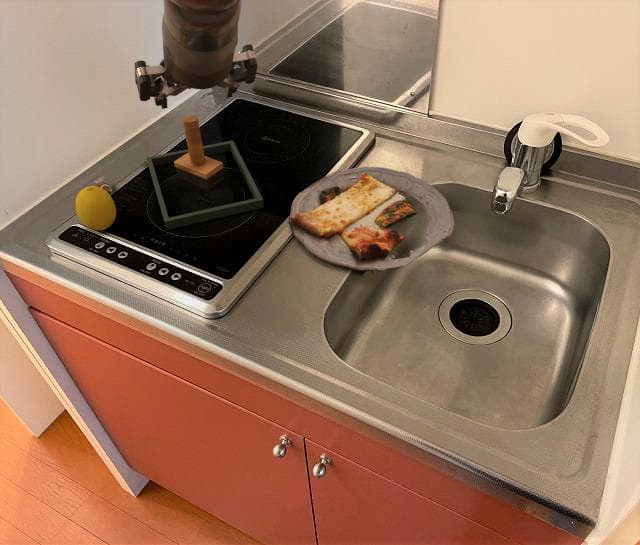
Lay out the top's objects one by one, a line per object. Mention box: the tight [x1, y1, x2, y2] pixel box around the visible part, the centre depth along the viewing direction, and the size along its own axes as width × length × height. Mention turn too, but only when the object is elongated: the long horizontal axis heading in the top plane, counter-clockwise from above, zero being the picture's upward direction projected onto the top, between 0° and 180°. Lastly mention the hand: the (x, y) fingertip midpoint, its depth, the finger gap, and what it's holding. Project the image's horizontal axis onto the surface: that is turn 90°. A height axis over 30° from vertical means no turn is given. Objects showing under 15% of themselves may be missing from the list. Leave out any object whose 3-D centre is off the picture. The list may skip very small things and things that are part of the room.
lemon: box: [75, 185, 117, 231], centre depth 86 cm, size 6×6×8 cm
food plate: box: [287, 166, 455, 274], centre depth 88 cm, size 25×23×4 cm
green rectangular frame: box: [146, 140, 265, 230], centre depth 96 cm, size 20×16×2 cm
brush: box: [173, 114, 225, 191], centre depth 94 cm, size 7×4×12 cm, turn 57°
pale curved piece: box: [93, 176, 113, 193], centre depth 94 cm, size 3×2×4 cm
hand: (195, 95), depth 75 cm, fingers open, 8 cm apart
